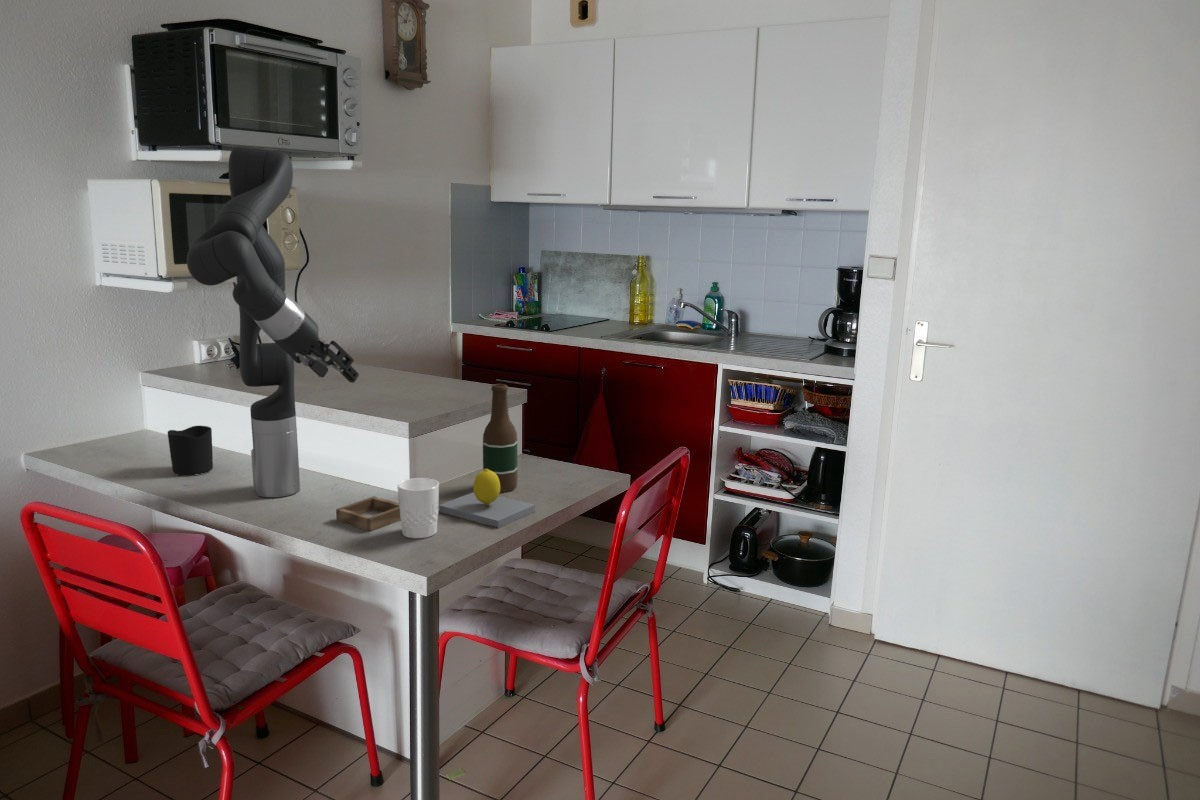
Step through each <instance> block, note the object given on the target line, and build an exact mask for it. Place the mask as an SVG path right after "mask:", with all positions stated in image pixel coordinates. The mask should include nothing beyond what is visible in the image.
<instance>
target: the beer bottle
mask: <svg viewBox="0 0 1200 800" xmlns="http://www.w3.org/2000/svg"><path fill="white" fill-rule="evenodd" d="M490 390H491V391H492V392H491V393H492V394H491V395H492V397H491V414H490V420H489V422H488V423H487V424H486V426H485V428H484V431H483V435H482V471H484V470H485V469H489V470H490V471H493V472H494V473H495V474H496V475H497V476H498V478H499V481H500V494H503V493H504V492H505V493H509V491H510V492H514V491H515V489H516V488H517V486H518V433H517V430H516V427H515V425H514V424H513V422H512V421H511V419H510V415H509V403H508V390H509V387H508V385H507V384H505V383H496V384H495V383H494V384H492V385H491V389H490ZM505 493H504V494H505Z"/></svg>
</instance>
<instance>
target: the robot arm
mask: <svg viewBox="0 0 1200 800" xmlns="http://www.w3.org/2000/svg"><path fill="white" fill-rule="evenodd" d="M228 158H229V159H228V181H229V190H230V197H231V199H229V200H228V201H227V202H226V203H225V204H224V205H223V206H222V208H221V209H220V211H219V212H218V214H217V216H216V218H215V220H214V222H213V224H212V225H210V227H209V228H208V229H207V230H205V231H204V232H203V233H202V234H201V235H200V236H199V237H198V238H197V239H196V240H195V241H194V242H193V243H192V244H191V246H190V247H189V250H188V252H187V254H186V255H187V256H186V265H187V269H188V272H189V274H190V275H191V276H192V278H193V279H194V280H195V281H196V282H198V283H199V284H201V285H205V286H208V287H209V286H217V285H219V284H222V283H225V282H226V281H229V280H231V279H234V278H236V284H235V286H234V287H233V289H232V298H233V300H234V302H235V303H236V304H237V305H238V308H239V310H238V311H239V372H240V377H241V381H242V383H243V384H244V385H245V386H247V387H256V388H257V387H270V386H271V387H274V386H275V387H276V386H278V387H277V389H276V390H275V391H273V393H271V394H270V395H268V396H267V397H264V398H262V399H261V398H260V399H259V400H257V401H255V402H253V403H252V404H251V405H250V422H251V423H250V424H251V425H250V427H251V437H252V439H251V440H252V449H251V450H250V455H251V469H252V484H253V491H255V493H256V495H258V496H259V497H263V498H283V497H287V496H291V495H294V494H296V493H299V492H300V490H301V481H300V463H299V461H300V460H299V446H298V427H297V412H296V400H295V399H296V398H295V397H296V396H295V363H297V364H301V363H302V364H303V366H305V367H308V368H309V369H310V370H311V371H313V372H314V373H315V375H317V376H318V377H319V378H324V377H325V376H326V375H327V374H328V372H329V368H333V369H335V370H336V371H338V372H339V373H340V374H341V375H342V376H343V377H344V378H345V379H346V380H347V381H348V382H349V383H352V384H354V383H355V382H356V381H357V379H358V377H359V375H360V374H359V372H358V371H357V370H356V369H354V368H355V367H353V366H352V364H353V363H354V358H353V357H352V356H351V355H349V353H348V352H346V351H345V350H344V348H343V347H341V346H340V344H338V343H337V342H336V341H335V340H331V341H330V343H328V342H327V341H326V340H325V339H323V338H321V337H319V326H318V323H317V322H316V321H315V320H314V319H313V318H312V317H311V316H310V315H309V314H308V313H307V312H306V311H305V310H304V309H303V308H302V307H301V306H300V305H299V304H298V303H297V302H296V300H294V298H292V297H291V296H290V295H288V294H287V293H286V292H285V290H286V265H285V258H284V255H283V254H282V252H281V250H280V248H279V247H278V245H277V243H276V242H275V241H274V240H273V238H272V237H271V235H270V233H268V231H267V230H266V229H265V227H264V223H266V221H267V219H268V218H270V217H271V216H272V214H273V213H274V212H276V210H277V209H278V208H279V207H280V206H281V204H283V202H284V201H285V200H286V198H287V197H288V196H289V194H290V191H291V188H292V186H293V180H294V178H293V176H294V170H293V163H292V160H291V158H290V155H288V154H287V153H285V152H284V151H280V150H275V149H267V148H260V147H252V146H251V147H250V146H242V145H241V146H239V145H238V146H237V145H236V146H235V147H233V148H232V150H231V151H230V154H229V157H228ZM261 330H262V332H264V333H265V334H266V335H267V336H268V337H269V338H270V339H271V340H272V341H273V342H263V343H260V342H259V343H258V338H259V336H260V334H261V333H260V332H261ZM327 358H329V360H327Z"/></svg>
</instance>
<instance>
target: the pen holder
mask: <svg viewBox="0 0 1200 800" xmlns="http://www.w3.org/2000/svg"><path fill="white" fill-rule="evenodd" d="M212 430H213V429H212V427H210V426H207V425H193V426H190V427H187V428H185V429H182V430H177V429H176V430H175V429H169V430H167V433H166V434H167V439H168V446H169V453H170V461H171V468H172V469H171V470H172V472H173V473H174V475H176V474H178V475H177V476H180V475H194V476H196V475H195V474H201V473H205V472H208V471H210V470H211V471H212V470H213V468H214V465H213V464H214V462H213V461H214V460H213V459H214V458H213V457H214V456H213V436H212ZM211 471H210V472H211ZM208 473H209V472H208ZM205 474H206V473H205ZM201 475H202V474H201Z"/></svg>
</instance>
